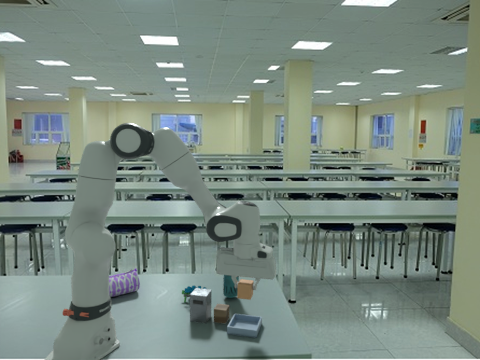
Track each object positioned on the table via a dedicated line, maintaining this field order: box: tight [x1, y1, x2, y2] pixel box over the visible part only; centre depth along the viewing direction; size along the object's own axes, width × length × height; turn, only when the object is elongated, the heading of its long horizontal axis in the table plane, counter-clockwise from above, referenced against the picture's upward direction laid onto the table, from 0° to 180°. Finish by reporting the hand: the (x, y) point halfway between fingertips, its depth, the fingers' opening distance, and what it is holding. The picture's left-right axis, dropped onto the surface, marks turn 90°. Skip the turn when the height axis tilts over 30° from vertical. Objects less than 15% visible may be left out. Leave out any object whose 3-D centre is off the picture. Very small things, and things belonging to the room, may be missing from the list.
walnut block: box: [213, 303, 230, 325], centre depth 142 cm, size 4×4×5 cm
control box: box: [189, 287, 212, 324], centre depth 142 cm, size 7×6×10 cm
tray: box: [226, 313, 263, 339], centre depth 136 cm, size 10×10×3 cm
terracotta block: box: [236, 278, 255, 301], centre depth 134 cm, size 4×4×5 cm
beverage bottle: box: [222, 275, 240, 299], centre depth 159 cm, size 6×7×20 cm
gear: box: [181, 285, 207, 303], centre depth 156 cm, size 11×6×10 cm
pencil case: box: [109, 267, 141, 298], centre depth 161 cm, size 22×9×10 cm, turn 130°
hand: (245, 288), depth 134 cm, fingers closed on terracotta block, 4 cm apart
